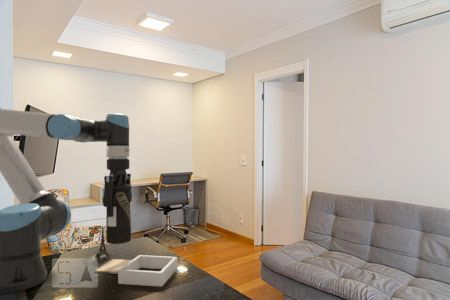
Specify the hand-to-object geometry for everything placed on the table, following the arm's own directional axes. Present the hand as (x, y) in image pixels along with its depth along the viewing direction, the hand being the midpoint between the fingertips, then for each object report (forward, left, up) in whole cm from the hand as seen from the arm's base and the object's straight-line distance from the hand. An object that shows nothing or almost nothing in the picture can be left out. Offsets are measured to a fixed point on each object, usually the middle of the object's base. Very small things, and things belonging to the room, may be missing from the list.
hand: (118, 223), depth 103 cm
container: (0, 0, -6) cm, 6 cm away
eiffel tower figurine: (-12, +8, -16) cm, 21 cm away
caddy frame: (+14, -6, -15) cm, 21 cm away
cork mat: (0, 0, -15) cm, 15 cm away
